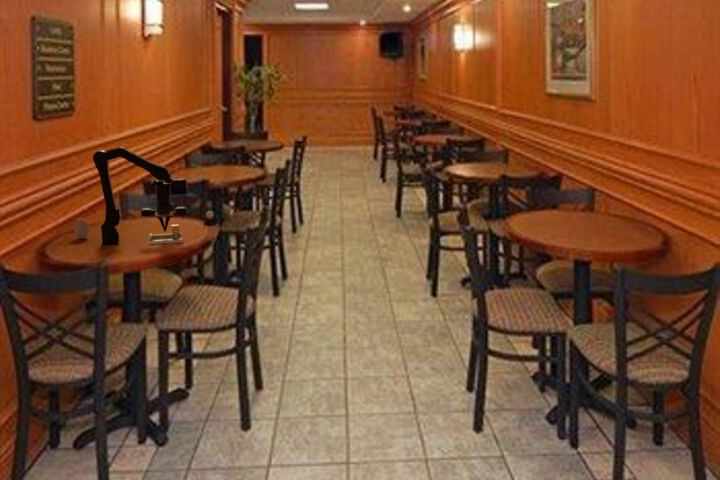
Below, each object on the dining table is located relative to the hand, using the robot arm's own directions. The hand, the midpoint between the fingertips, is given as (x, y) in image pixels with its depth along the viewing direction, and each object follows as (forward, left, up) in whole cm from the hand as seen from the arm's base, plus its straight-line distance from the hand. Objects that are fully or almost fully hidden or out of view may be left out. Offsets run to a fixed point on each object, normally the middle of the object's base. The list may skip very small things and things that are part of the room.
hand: (165, 231), depth 331 cm
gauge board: (0, -1, -4) cm, 4 cm away
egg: (-35, +14, -4) cm, 39 cm away
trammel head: (+5, -2, -2) cm, 5 cm away
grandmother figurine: (+19, -4, -4) cm, 20 cm away
